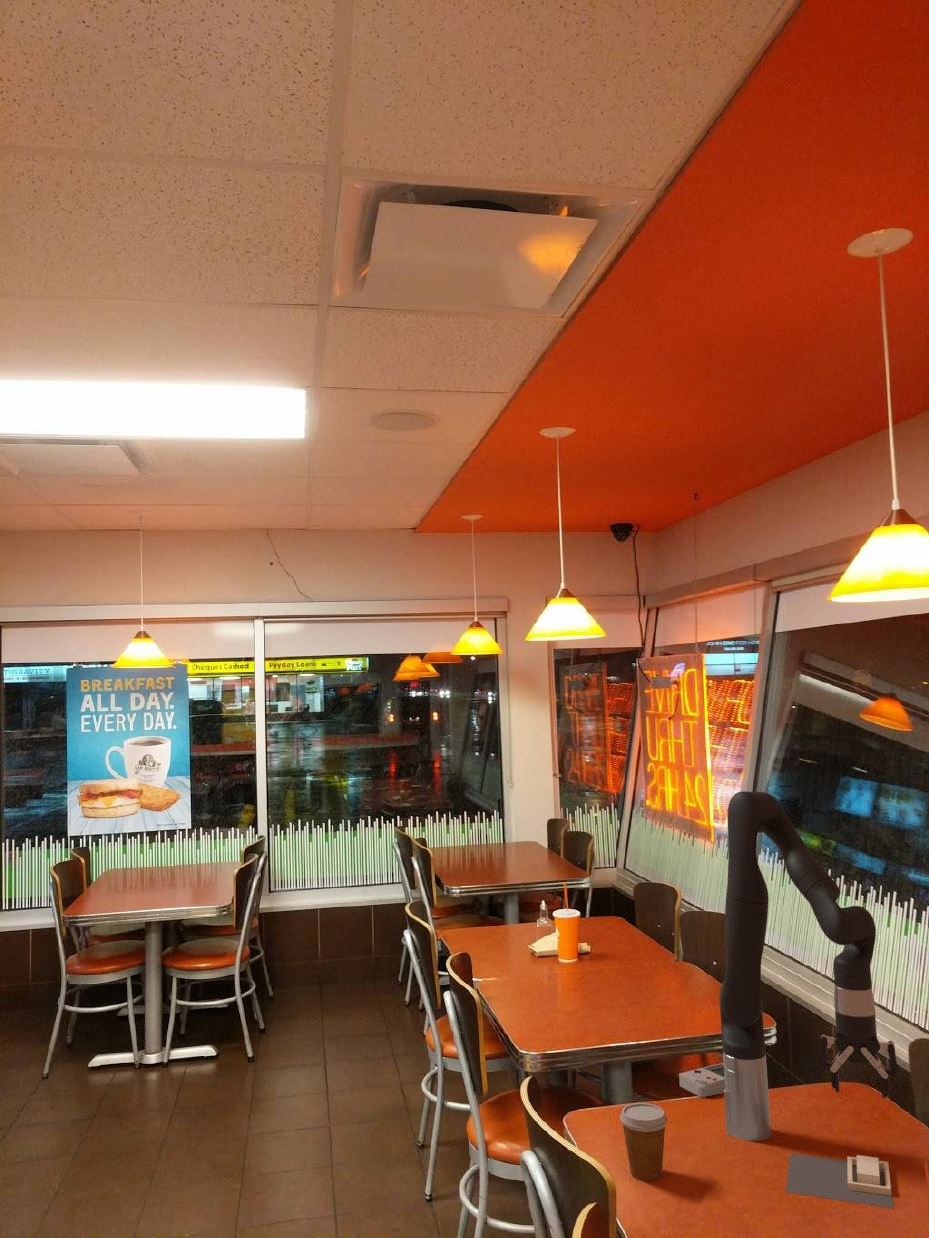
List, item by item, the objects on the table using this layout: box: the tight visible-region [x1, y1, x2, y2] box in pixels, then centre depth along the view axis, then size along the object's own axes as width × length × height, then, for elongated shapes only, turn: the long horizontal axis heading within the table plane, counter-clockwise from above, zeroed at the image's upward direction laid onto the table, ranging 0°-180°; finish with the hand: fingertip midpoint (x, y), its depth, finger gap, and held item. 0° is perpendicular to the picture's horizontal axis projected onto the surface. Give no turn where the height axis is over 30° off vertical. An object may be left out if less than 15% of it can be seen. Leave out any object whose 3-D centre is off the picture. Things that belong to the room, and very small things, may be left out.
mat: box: [785, 1152, 895, 1210], centre depth 180 cm, size 19×17×2 cm
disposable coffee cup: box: [619, 1102, 668, 1182], centre depth 186 cm, size 10×10×12 cm
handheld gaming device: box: [678, 1062, 725, 1098], centre depth 229 cm, size 9×15×4 cm, turn 116°
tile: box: [856, 1154, 880, 1186], centre depth 179 cm, size 8×4×2 cm, turn 157°
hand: (860, 1093), depth 182 cm, fingers open, 8 cm apart
